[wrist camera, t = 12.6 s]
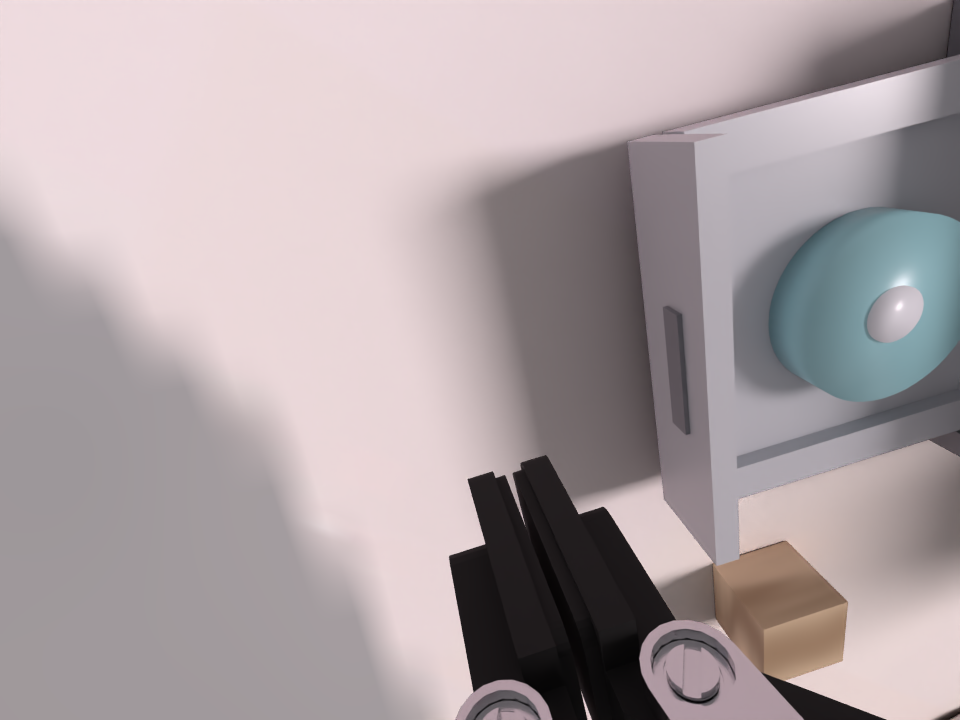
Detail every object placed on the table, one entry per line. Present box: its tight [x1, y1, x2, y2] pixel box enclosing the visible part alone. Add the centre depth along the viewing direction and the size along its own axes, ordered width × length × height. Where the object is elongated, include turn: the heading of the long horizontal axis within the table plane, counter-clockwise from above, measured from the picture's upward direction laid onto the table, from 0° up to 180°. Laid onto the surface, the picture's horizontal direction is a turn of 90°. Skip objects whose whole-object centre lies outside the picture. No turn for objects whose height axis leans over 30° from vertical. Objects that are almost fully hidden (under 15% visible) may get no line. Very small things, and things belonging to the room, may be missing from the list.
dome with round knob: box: [768, 207, 960, 402], centre depth 17 cm, size 6×6×2 cm
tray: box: [627, 55, 960, 566], centre depth 16 cm, size 13×15×4 cm
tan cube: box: [713, 541, 848, 681], centre depth 23 cm, size 4×4×4 cm
